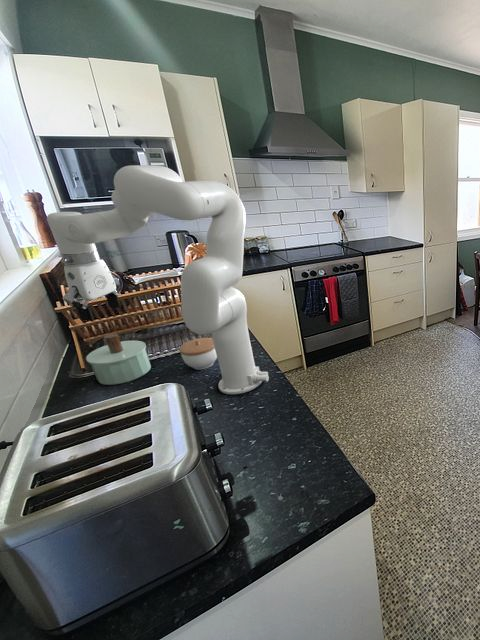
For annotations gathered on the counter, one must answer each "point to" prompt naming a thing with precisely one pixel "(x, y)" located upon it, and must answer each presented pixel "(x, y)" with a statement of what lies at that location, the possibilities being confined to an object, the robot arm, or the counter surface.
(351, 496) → the counter surface
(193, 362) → the trinket box
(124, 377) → the bowl
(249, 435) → the counter surface
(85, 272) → the robot arm
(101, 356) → the bowl lid
